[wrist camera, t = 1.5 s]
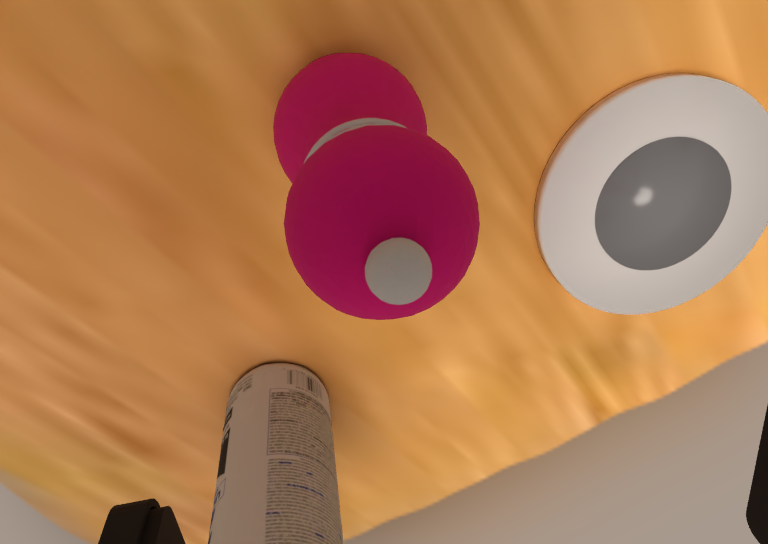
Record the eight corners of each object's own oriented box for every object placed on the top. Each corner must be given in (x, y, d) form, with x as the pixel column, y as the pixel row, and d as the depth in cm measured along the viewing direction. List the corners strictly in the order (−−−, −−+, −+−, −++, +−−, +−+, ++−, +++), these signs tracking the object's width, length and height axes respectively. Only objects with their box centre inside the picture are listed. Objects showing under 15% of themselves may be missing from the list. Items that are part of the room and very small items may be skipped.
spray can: (213, 373, 39) (149, 709, 22) (316, 346, 39) (336, 658, 22) (246, 449, 42) (214, 797, 25) (341, 424, 43) (378, 752, 25)
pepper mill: (404, 179, 35) (518, 398, 18) (276, 176, 34) (259, 407, 16) (415, 46, 32) (568, 149, 14) (274, 38, 31) (252, 139, 13)
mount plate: (532, 94, 34) (542, 99, 33) (788, 54, 35) (806, 58, 34) (534, 322, 41) (542, 334, 40) (748, 284, 42) (762, 294, 41)
